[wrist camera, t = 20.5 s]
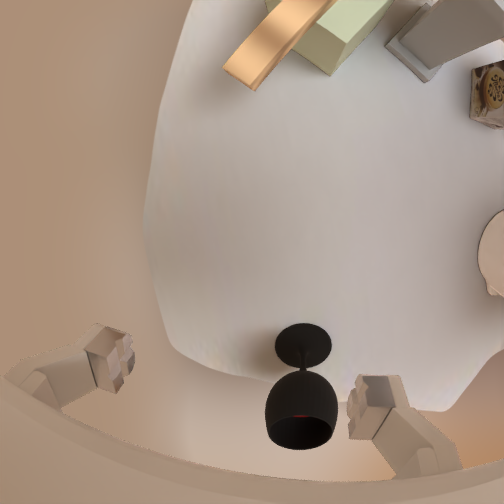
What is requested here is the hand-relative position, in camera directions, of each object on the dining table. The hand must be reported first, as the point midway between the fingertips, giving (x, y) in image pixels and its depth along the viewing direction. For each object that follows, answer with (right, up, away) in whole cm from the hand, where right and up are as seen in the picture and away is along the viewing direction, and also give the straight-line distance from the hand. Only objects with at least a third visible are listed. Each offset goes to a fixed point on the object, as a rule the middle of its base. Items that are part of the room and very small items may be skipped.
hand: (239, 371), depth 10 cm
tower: (+27, +36, +22) cm, 50 cm away
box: (+11, +36, +25) cm, 45 cm away
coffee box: (+38, +29, +23) cm, 53 cm away
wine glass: (+10, -13, +44) cm, 47 cm away
